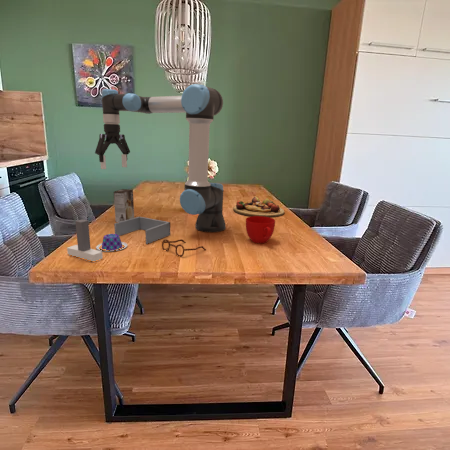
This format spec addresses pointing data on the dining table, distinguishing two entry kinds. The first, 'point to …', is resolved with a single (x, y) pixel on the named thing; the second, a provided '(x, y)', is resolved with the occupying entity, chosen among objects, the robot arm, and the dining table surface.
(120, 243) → the pudding
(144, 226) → the bin
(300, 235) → the dining table surface
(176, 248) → the glasses
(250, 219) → the ceramic cup
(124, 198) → the coffee box
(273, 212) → the wooden plate with food
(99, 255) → the scraper
